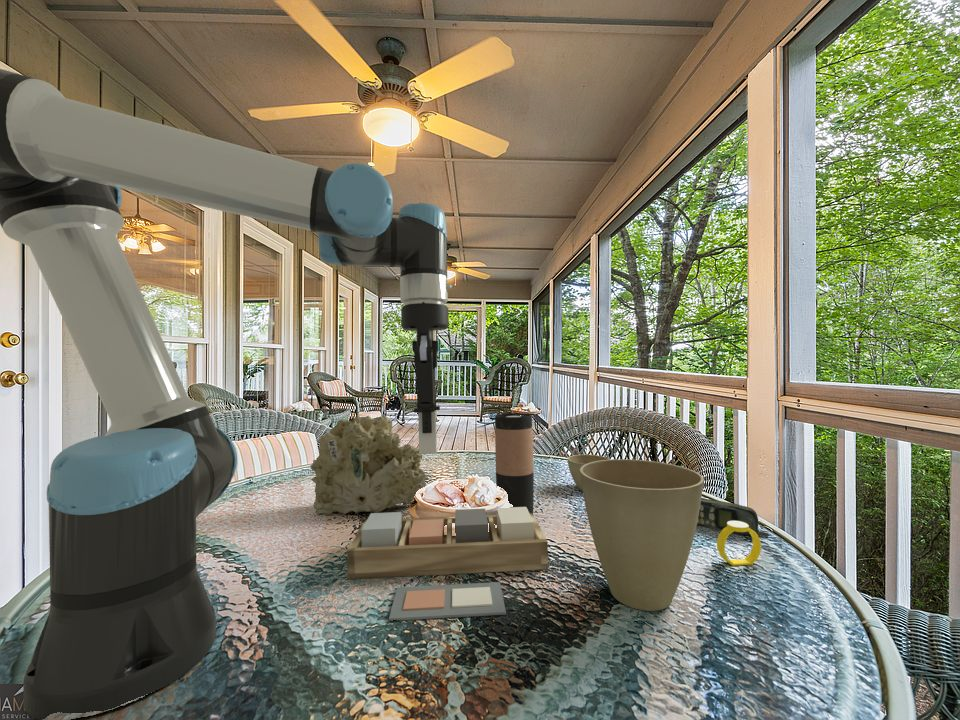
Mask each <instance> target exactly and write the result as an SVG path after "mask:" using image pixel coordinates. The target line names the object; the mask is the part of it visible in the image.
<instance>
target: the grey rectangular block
mask: <svg viewBox="0 0 960 720" xmlns="http://www.w3.org/2000/svg"><path fill="white" fill-rule="evenodd" d="M454 511H455V513H454V516H455V533H456V543H470V542H489V534H488V520H487V516H486V515H487V512H486V508H470V509H469V508H468V509H467V508H463V509H455V510H454Z"/></svg>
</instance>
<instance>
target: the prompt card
mask: <svg viewBox="0 0 960 720" xmlns="http://www.w3.org/2000/svg"><path fill="white" fill-rule="evenodd" d="M506 610H507V609H506V607H505V601H504V596H503V591H502V586H501V582H500V581H495V582H475V583H457V584H436V585H417V586H416V585H415V586H398V587H396V590H395V594H394V598H393V601H392V606H391V610H390V612H389V617H388V622H394V621H393V620H397V621H398V620H399V621H415V620H430V619H431V620H433V619H447V618H448V619H449V618H467V617H468V618H469V617H484V616H501V615H503V616H504V615H505V616H506V615H507V611H506ZM397 621H396V622H397Z"/></svg>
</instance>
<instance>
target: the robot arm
mask: <svg viewBox="0 0 960 720" xmlns="http://www.w3.org/2000/svg"><path fill="white" fill-rule="evenodd" d="M121 189H123V190H128V191H132V192H136V193H141V194H145V195H150V196H153V197H158V198H161V199H162V198H164V199H168V200H172V201H175V202H181V203H186V204H189V205H193V206H194V205H195V206H199V207H203V208H207V209H211V210H217V211H220V212H225V213H230V214H235V215H239V216H244V217H247V218H252V219H257V220H261V221H265V222H269V223H273V224H277V225H284V226H288V227H292V228H295V229H296V228H297V229H301V230H306V231H311V232H313V233H316V234H317V242H318V243H317V244H318V250H319V251H318V252H319V258H320V259H321V261H322V262H323V263H325V264H331V265H337V266H338V265H339V266H342V267H349V266H354V267H357V266H358V267H360V266H361V267H388V268H399V271H400V278H399V285H400V286H399V288H400V289H399V291H400V292H399V293H400V294H399V296H400V297H399V298H400V303H402V304H403V305H402V307H401V309H400V312H401V313H400V316H401V318H400V319H401V321H400V323H401V324H400V325H401V328H402V329H403V330H405V331H410V332H411V331H412V332H415V331H416V340H412V342H411V345H412V349H411V350H412V352H413V356H414V357H413V361H414V362H413V365H414V366H413V367H414V368H415V379H416V380H415V381H416V383H415V384H416V401H417V403H416V408H413V413H414V414H415V413H417V414H418V415H417V416H418V421H417V422H418V448H419V454H422V455H423V454H425V455H427V454H428V455H429V454H431V455H432V454H437V452H438V447H437V443H438V442H437V411H440V409H441V406H439V405H437V399H436V368H437V367H438V352H439V341H438V340H434V331H445V330H447V329H448V328H449V326H450V323H449V318H450V317H449V315H450V314H449V307H448V306H447V305H446V303H448V302H449V298H448V297H449V296H448V295H449V294H448V291H450V290H452V284H451V283H448V233H447V224H446V223H447V222H446V221H447V220H446V214H445V213H444V211H443V209H441V208H440V207H438V206H437V205H436V204H432V203H427V202H418V203H407V204H405V205H403V206H401V208H400V210H398V211H399V212H398V215H397V217H393V214H394V210H393V207H394V201H393V199H394V198H393V193H392V188H391V187H390V184H389V182H388V181H387V179H386V178H385V177H384V176H383V174H381V173H380V172H379V171H378V170H377V169H376V168H374V167H371V166H370V165H367V164H364V163H360V162H359V163H357V162H354V163H348V164H344V165H341V166H339V167H338V168H337V169H335V170H332V169H327V168H323V167H321V166H316V165H313V164H308V163H305V162H301V161H298V160H294V159H290V158H286V157H283V156H280V155H276V154H272V153H268V152H266V151H265V152H264V151H260V150H258V149H254V148H250V147H246V146H243V145H239V144H235V143H232V142H228V141H224V140H220V139H217V138H213V137H209V136H205V135H203V134H198V133H195V132H193V131H192V132H191V131H188V130H184V129H182V128H181V129H180V128H176V127H174V126H169V125H166V124H162V123H159V122H154V121H151V120H147V119H143V118H141V117H137V116H133V115H129V114H126V113H122V112H118V111H114V110H112V109H111V110H110V109H106V108H103V107H100V106H96V105H93V104H89V103H85V102H82V101H79V100H75V99H72V98H67V97H65V96H64V95H63V93H62V92H60V90H59V89H58V88H56V86H54V85H52V84H51V83H49V81H48V82H47V81H45V80H42V79H39V78H34V77H32V76H31V77H30V76H27V75H24V74H20V73H16V72H14V71H10V70H6V69H2V68H0V226H1V229H2V232H3V233H4V234H5V235H6V237H8V238H10V239H11V240H14V241H16V242H18V243H21V244H23V245H26V246H27V247H28V248H29V250H30V251H31V253H32V255H33V257H34V259H35V262H36V263H37V266H38V268H39V270H40V273H41V274H42V277H43V279H44V281H45V283H46V286H47V288H48V290H49V291H50V294H51V296H52V298H53V301H54V303H55V305H56V307H57V309H58V311H59V314H60V315H61V317H62V319H63V322H64V324H65V326H66V327H67V328H66V329H67V331H68V333H69V334H70V336H71V339H72V340H73V343H74V345H75V347H76V349H77V351H78V354H79V357H80V358H81V360H82V362H83V365H84V366H85V369H86V371H87V373H88V375H89V378H90V379H91V382H92V383H93V386H94V388H95V390H96V393H97V394H98V396H99V398H100V401H101V402H102V405H103V407H104V410H105V411H106V414H107V415H108V417H109V420H110V427H108V430H107V431H106V434H105V435H98V436H96V437H91V438H88V439H85V440H84V439H83V440H82V441H79V442H76V443H74V444H72V445H70V446H67V447H66V448H65V449H62V450H61V451H60V452H59V453H58V454H57V455H56V456H55V458H54V459H53V460H52V462H51V465H50V474H49V483H48V485H47V487H46V501H47V503H48V534H49V535H48V538H49V539H48V543H49V546H48V547H49V588H50V596H49V597H50V603H49V604H50V605H49V613H48V615H47V617H46V620H45V623H44V626H43V628H42V631H41V632H40V633H41V634H39V635H40V636H39V638H38V641H37V644H36V647H35V649H34V652H33V655H32V657H31V661H30V663H29V665H28V667H27V668H26V672H25V673H24V678H23V694H22V695H23V699H22V700H23V709H24V711H25V713H26V714H27V715H29V716H30V717H31V718H34V719H36V720H42V719H45V718H46V717H47V716H49V715H50V714H53V713H57V712H60V713H61V712H62V713H70V714H71V713H86V712H90V711H92V712H93V711H104V710H108V709H112V708H115V707H117V706H120V705H121V704H124V703H126V702H128V701H131V700H134V699H136V698H138V697H141V696H144V695H146V694H150V693H151V692H154V691H156V690H158V691H159V689H160V690H162V689H164V688H165V687H167V686H169V685H170V684H171V683H173V682H175V681H176V680H178V679H179V678H181V677H182V676H184V675H186V674H187V673H188V672H189V671H190V670H191V669H193V668H194V667H195V666H196V665H197V664H199V662H201V661H202V659H203V658H204V657H206V655H207V654H208V652H210V650H211V648H212V647H213V645H214V642H215V641H216V638H217V637H216V636H217V618H216V612H215V609H214V607H213V605H212V604H211V601H210V599H209V595H208V593H207V591H206V588H205V586H204V584H203V581H202V579H201V577H200V575H199V574H200V573H199V572H198V568H197V518H198V516H199V515H200V514H202V512H204V510H206V509H207V508H208V507H209V506H211V505H212V504H213V503H215V502H216V501H217V500H218V499H219V498H220V497H221V496H223V494H224V493H225V491H226V490H227V489H228V488H229V486H230V483H231V482H232V479H233V478H234V477H235V473H236V470H237V468H238V466H237V465H238V453H237V449H236V446H235V444H234V442H233V440H232V439H231V438H230V436H229V435H228V434H227V433H226V432H225V431H223V430H221V429H220V428H218V427H217V426H216V425H215V422H214V420H213V418H212V416H211V415H210V412H209V410H208V407H207V405H206V404H205V403H204V402H200V401H198V400H195V399H192V398H191V397H190V396H188V393H187V392H186V389H185V387H184V385H183V383H182V380H181V379H180V375H179V374H178V371H177V369H176V367H175V364H174V363H173V360H172V357H171V355H170V353H169V351H168V349H167V347H166V345H165V342H164V340H163V338H162V336H161V333H160V331H159V329H158V327H157V324H156V323H155V320H154V317H153V315H152V312H151V311H150V308H149V306H148V303H147V302H146V300H145V298H144V295H143V293H142V291H141V288H140V287H139V284H138V281H137V280H136V277H135V275H134V273H133V271H132V268H131V266H130V263H129V262H128V259H127V257H126V255H125V253H124V251H123V249H122V245H121V244H120V241H119V239H118V237H117V235H118V234H119V233H120V231H121V230H122V229H123V227H124V225H125V219H124V218H123V216H122V214H121V211H120V209H119V208H121V206H122V191H121ZM215 637H216V638H215ZM163 687H164V688H163ZM161 688H162V689H161ZM156 692H157V691H156ZM154 693H155V692H154ZM150 695H151V694H150Z"/></svg>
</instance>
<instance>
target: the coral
mask: <svg viewBox="0 0 960 720" xmlns="http://www.w3.org/2000/svg"><path fill="white" fill-rule="evenodd" d="M318 443H319V448H318V452H319V455H318V456H317V457H316V458H315V459H313V460H312V462H313V463H311V465H310V469H311V470H312V471H313V472H314V473H315V476H314V477H313V478H311V479H309V480H310V481H312V482H313V483H315V488H314V493H315V499H314V501H313V504H312V507H313V508H314V510H315V513H316V515H319V514H320V515H321V514H327V515H331V514H333V513H334V512H335V511H337V513H339V514H343V515H346V514H348V513H351V512H355V513H354V514H357V513H360V512H367V513H368V512H370V513H372V512H373V513H381V512H382V511H384V510H385V509H387V508H388V509H390V508H392V507H394V506H397V505H398V504H403V506H406V505H410V504H412V503H411V501H412V500H413V499H414V496H415V494H416V492H417V491H418V490H419V489H421V488H423V487H425V486H427V483H426V481H427V480H429V477H428V475H427V474H426V472H424V470H422V469H421V468H420V467H421V463H420V462H421V461H422V460H423V454H419V447H415V446H414V445H411V444H409V443H407V444H404V445H403V446H401V445H400V444H401V443H402V442H401V438H400V435H399V434H398V433H395V432H393V421H391V420H390V419H389V418H388V416H387V415H382V416H381V417H378V418H372V417H371V416H370V415H367V416H356V417H354V418H353V420H351V421H350V420H349V419H343V418H342V419H338V421H337V423H336V424H335V427H331V428H330V430H329V433H325V434H324V435H322V436H321V437H320V439H319V440H318Z"/></svg>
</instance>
